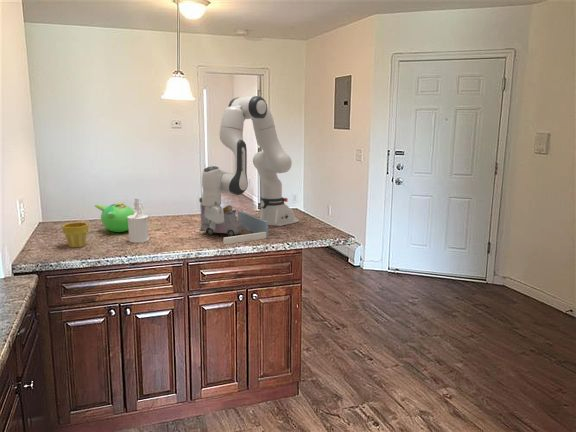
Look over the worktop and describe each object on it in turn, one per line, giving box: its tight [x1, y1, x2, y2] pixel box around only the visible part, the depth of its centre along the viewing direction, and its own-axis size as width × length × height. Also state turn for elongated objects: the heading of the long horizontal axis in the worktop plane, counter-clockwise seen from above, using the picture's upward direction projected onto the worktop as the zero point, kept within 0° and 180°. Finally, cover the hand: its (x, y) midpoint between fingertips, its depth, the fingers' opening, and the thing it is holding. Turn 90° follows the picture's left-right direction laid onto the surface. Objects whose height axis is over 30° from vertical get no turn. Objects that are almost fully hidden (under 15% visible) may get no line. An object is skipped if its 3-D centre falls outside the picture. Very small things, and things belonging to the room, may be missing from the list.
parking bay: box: [198, 210, 269, 246], centre depth 236 cm, size 23×30×8 cm
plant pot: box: [62, 221, 89, 249], centre depth 212 cm, size 10×10×10 cm
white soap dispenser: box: [127, 197, 150, 244], centre depth 221 cm, size 10×9×20 cm
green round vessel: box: [94, 201, 135, 233], centre depth 237 cm, size 18×17×15 cm
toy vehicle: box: [200, 204, 244, 237], centre depth 234 cm, size 9×20×15 cm, turn 73°
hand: (212, 228), depth 230 cm, fingers closed
